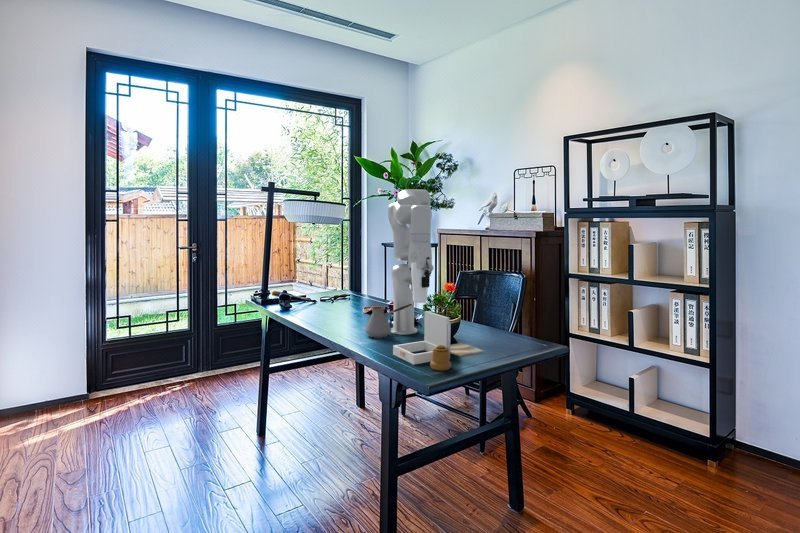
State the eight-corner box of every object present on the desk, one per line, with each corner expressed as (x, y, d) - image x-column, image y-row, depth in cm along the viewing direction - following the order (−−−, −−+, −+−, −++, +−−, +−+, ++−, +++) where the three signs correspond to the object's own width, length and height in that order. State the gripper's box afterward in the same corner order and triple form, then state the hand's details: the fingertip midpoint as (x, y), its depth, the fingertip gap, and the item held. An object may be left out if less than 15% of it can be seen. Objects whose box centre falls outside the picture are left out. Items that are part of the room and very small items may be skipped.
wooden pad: (438, 348, 193) (438, 346, 193) (462, 344, 199) (462, 342, 199) (459, 356, 181) (459, 355, 181) (484, 352, 187) (484, 350, 187)
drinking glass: (418, 304, 174) (418, 263, 173) (407, 301, 180) (407, 262, 178) (432, 302, 178) (432, 262, 177) (421, 299, 184) (421, 261, 182)
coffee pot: (363, 339, 207) (363, 305, 206) (367, 332, 218) (367, 300, 217) (412, 340, 205) (412, 306, 204) (413, 333, 217) (413, 301, 215)
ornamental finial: (455, 368, 166) (439, 372, 162) (441, 363, 172) (425, 367, 168) (456, 346, 166) (439, 349, 161) (441, 342, 172) (425, 345, 167)
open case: (392, 354, 183) (392, 315, 182) (426, 348, 192) (427, 311, 190) (414, 365, 169) (414, 323, 168) (451, 359, 178) (451, 318, 176)
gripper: (400, 237, 182) (399, 283, 184) (425, 239, 167) (424, 290, 169) (416, 237, 186) (416, 282, 188) (442, 239, 171) (441, 288, 173)
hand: (420, 285), depth 178 cm, fingers closed on drinking glass, 6 cm apart
